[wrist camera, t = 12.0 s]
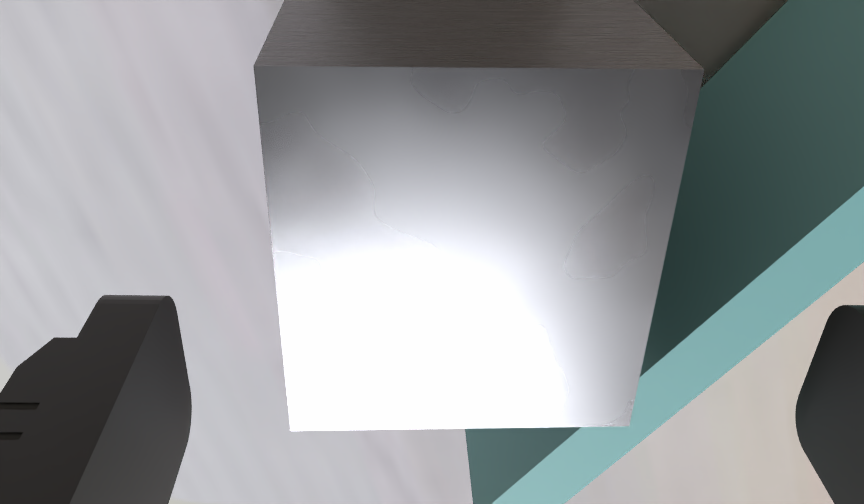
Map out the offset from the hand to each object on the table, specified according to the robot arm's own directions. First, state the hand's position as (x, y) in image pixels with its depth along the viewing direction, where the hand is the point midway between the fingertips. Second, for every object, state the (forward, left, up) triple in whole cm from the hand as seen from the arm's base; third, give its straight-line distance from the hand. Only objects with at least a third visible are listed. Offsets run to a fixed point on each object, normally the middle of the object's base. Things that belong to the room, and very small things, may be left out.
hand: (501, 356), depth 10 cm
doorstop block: (0, 0, -10) cm, 10 cm away
